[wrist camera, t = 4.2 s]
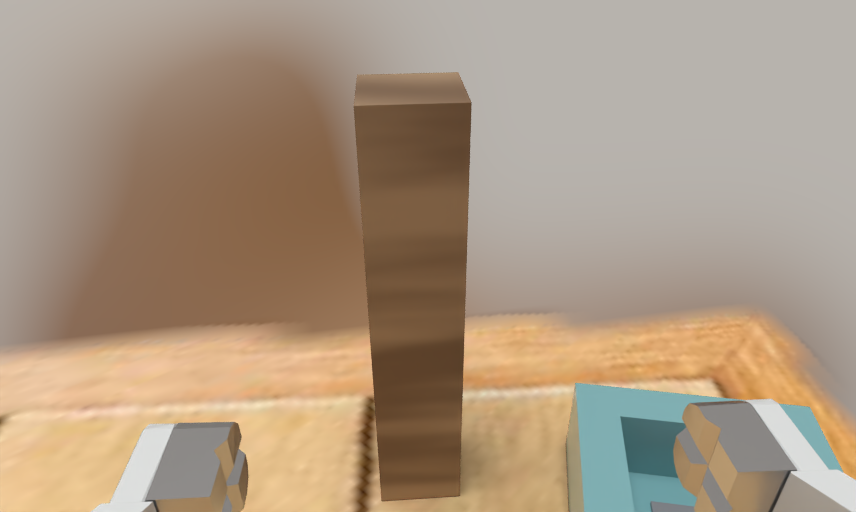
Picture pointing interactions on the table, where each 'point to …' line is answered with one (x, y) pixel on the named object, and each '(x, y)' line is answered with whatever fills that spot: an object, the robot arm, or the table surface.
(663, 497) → the light blue square container
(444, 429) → the wooden block
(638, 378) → the table surface
